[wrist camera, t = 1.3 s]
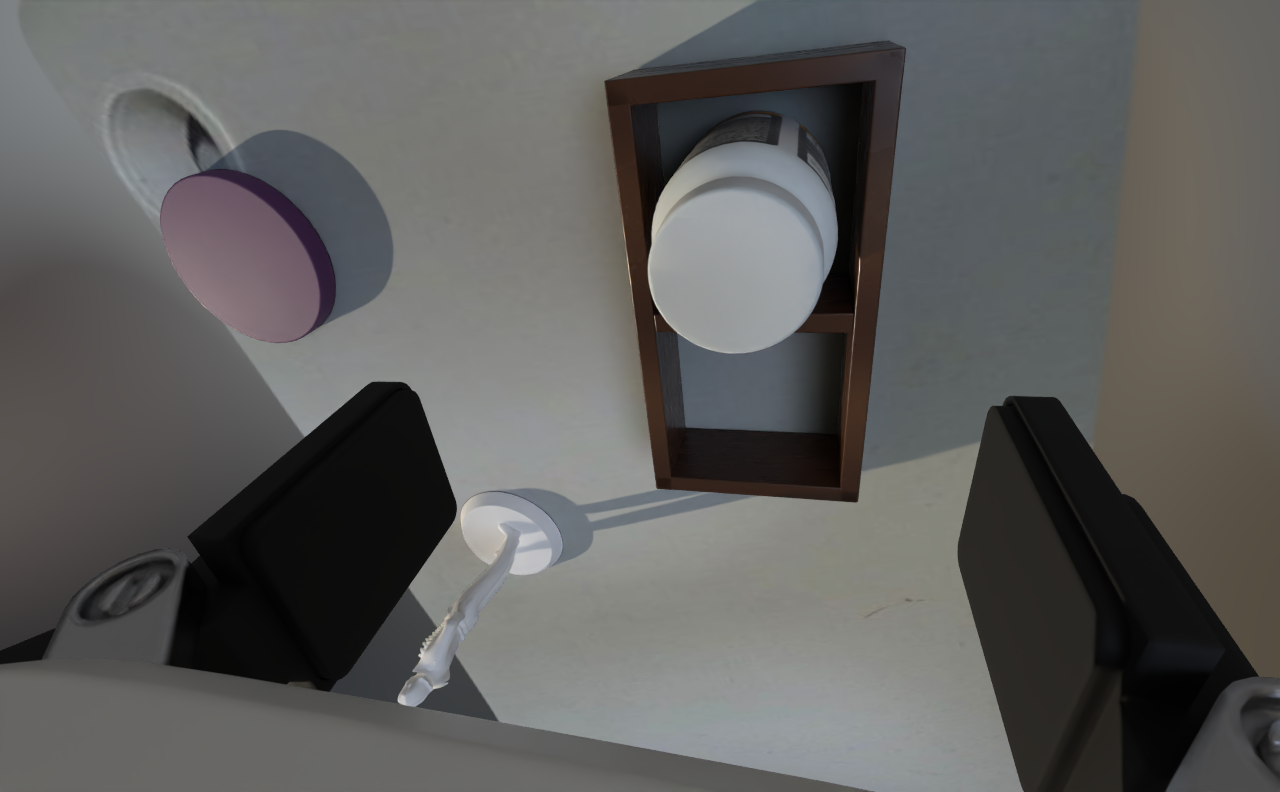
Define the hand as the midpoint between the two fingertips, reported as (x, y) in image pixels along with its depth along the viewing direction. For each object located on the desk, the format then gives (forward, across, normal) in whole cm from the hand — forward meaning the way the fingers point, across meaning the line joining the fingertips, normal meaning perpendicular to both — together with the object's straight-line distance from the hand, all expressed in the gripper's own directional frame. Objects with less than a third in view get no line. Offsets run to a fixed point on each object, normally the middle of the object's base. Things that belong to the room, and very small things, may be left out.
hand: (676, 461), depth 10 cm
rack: (+17, 0, +4) cm, 18 cm away
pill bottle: (+18, 0, -1) cm, 18 cm away
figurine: (+18, +16, +21) cm, 31 cm away
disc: (+17, +26, +2) cm, 31 cm away
